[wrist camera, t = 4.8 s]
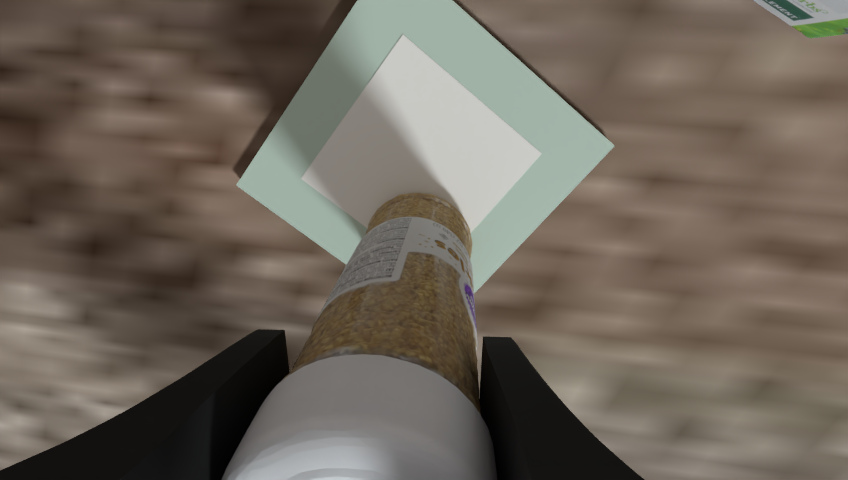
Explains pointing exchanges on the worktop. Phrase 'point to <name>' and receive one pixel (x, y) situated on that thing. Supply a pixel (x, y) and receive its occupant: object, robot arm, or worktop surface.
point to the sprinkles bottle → (384, 365)
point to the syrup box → (811, 15)
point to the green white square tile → (422, 133)
